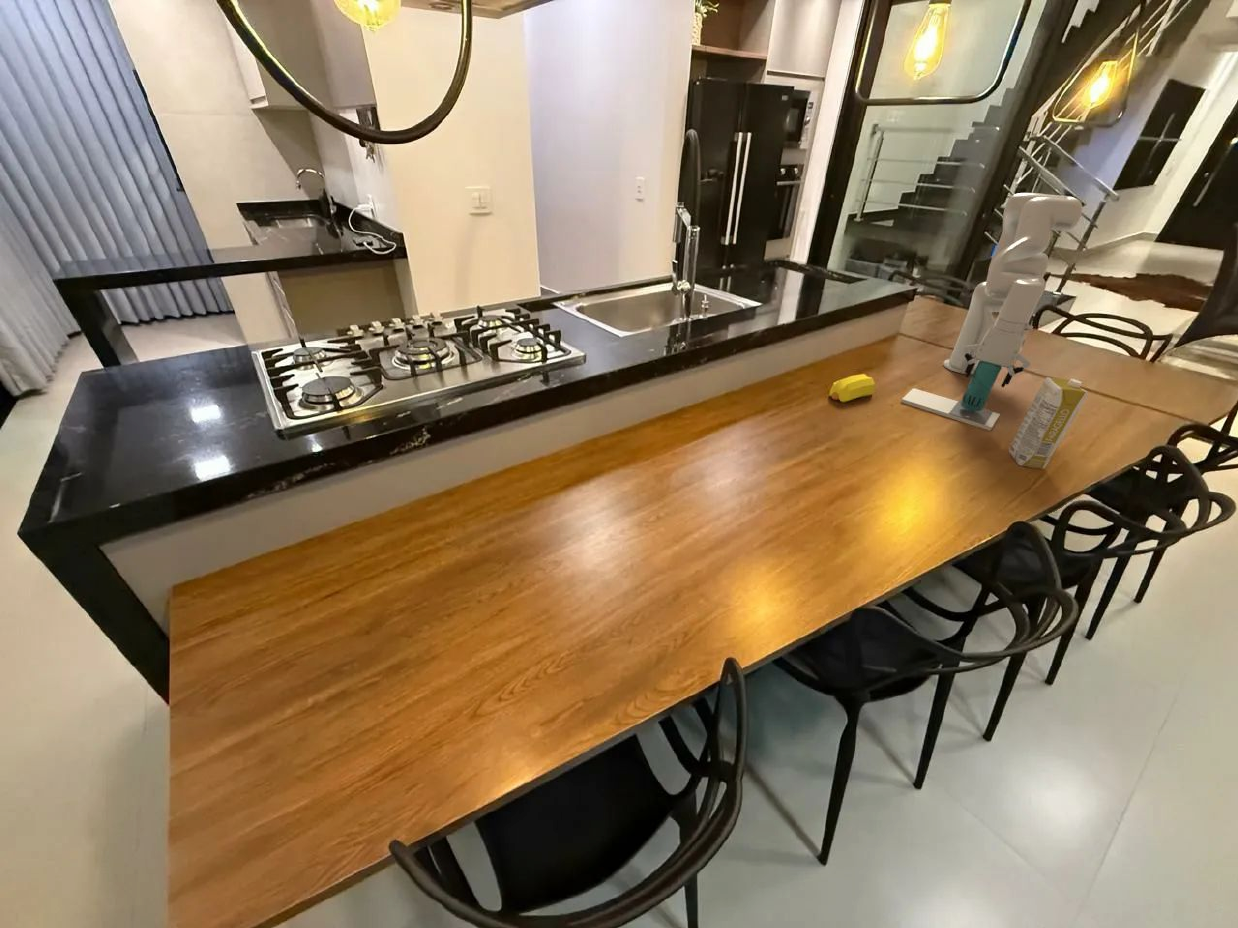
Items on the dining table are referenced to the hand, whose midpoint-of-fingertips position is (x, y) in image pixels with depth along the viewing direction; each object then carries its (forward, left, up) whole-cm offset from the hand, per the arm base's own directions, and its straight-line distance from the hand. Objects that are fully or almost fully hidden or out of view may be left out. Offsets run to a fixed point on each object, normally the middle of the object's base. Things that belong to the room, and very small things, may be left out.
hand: (985, 380), depth 163 cm
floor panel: (0, -6, -12) cm, 13 cm away
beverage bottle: (0, -1, -11) cm, 11 cm away
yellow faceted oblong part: (+14, -33, -12) cm, 37 cm away
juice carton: (+18, +18, -12) cm, 28 cm away
